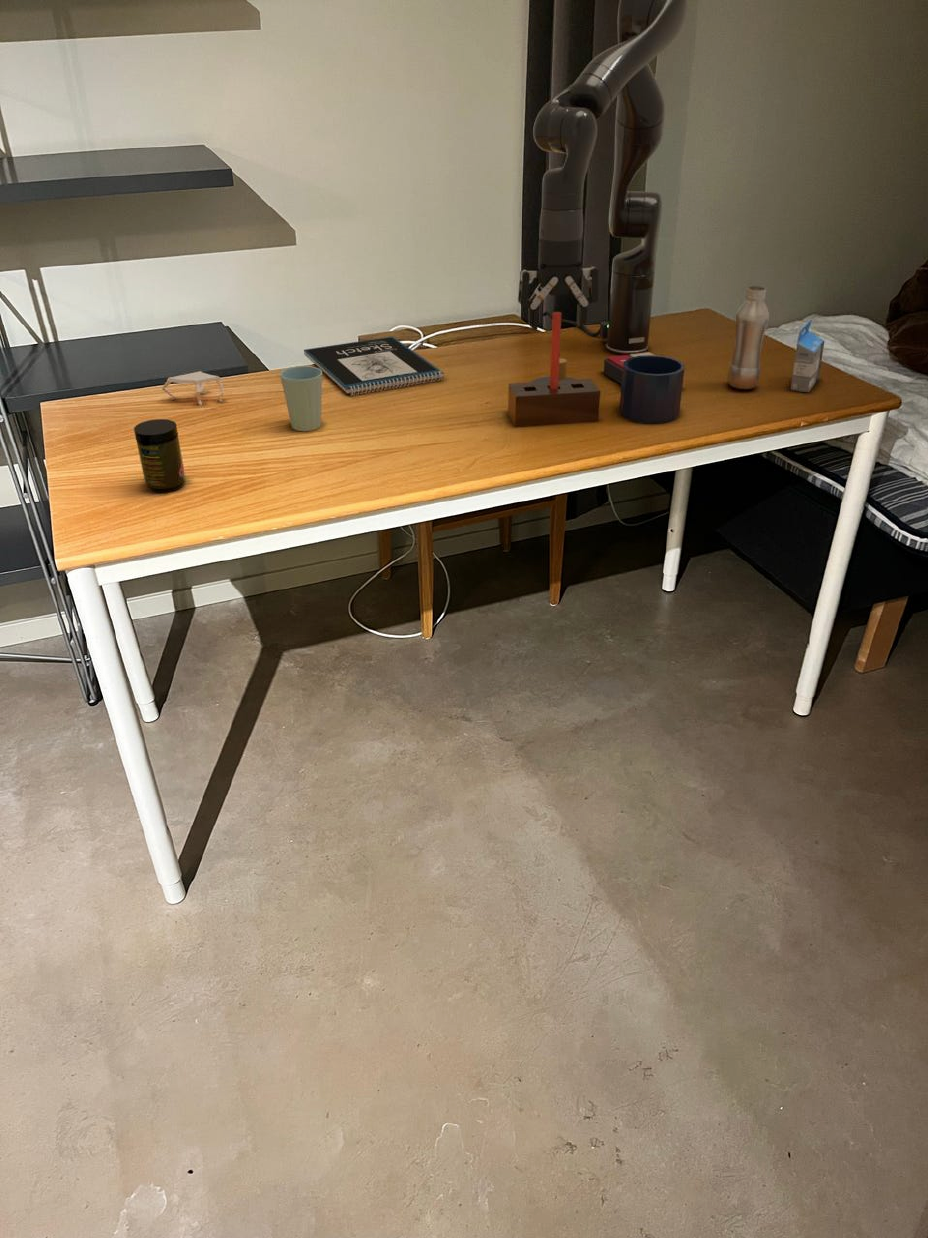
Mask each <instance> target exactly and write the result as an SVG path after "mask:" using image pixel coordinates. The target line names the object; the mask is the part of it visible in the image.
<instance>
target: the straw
mask: <svg viewBox="0 0 928 1238" xmlns="http://www.w3.org/2000/svg"><path fill="white" fill-rule="evenodd" d="M552 315H553V318H552V319H551V320H552V321H551V343H550V344H551V345H550V346H551V347H550V369H549V377H550V390H554V389H558V380H559V358H561V357H560V353H561V336H562V335H561V334H562V323H561V319H562V312H561V311H553V312H552Z"/></svg>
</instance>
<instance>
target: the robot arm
mask: <svg viewBox="0 0 928 1238" xmlns="http://www.w3.org/2000/svg"><path fill="white" fill-rule="evenodd" d="M688 7H689V0H619V3H618V8H617V9H618V10H617V44H616V45H613V46H612V47H609V48H606V49H605V50H604V51H602V52H600V53H599V54H597V55H596V56H595V57H593V59H591V61H589V63H588V64H587V65H586V67H584V69H583V71H581V73H580V74H579V76H578V77H577V78H576V79H575V81H574V82H573V83H572V84H570V85H569V86H568V87H566V88H564V89H563V90H562V91H561V92H559V93H557V94H556V95H555V96H554V97H553V98H551V99H550V100H548V102H546V103H545V104H544V105H543V106H542V107H541V109H540V110H539V112H538V113H537V116H536V117H535V121H534V123H533V129H532V135H533V140H534V142H535V144H536V145H537V148H539V149H540V150H542V151H544V152H547V153H556V154H565V155H566V157H565V161H564V163H563V166H562V167H561V166H560V167H555V168H550V169H548V170H547V171H545V173H543V176H542V183H541V211H540V216H539V233H538V261H537V262H538V263H537V267H536V270H526V268H522V269H521V270H520V271H519V282H518V283H519V284H518V297H517V300H518V303H519V305H520V306H521V307H523V308H527V323H528V326H529V327H530V328H531V329H532V330H533V331H537V330H538V325H539V323H538V322H539V309H538V307H539V305H540V304H541V302H542V301H544V300H545V299H546V297H547V296H548V295H550V296H558V295H564V296H567V295H569V294H570V293H572V294H573V296H574V297H575V299H576V300H577V301H578V303H577V306H576V321H573V320H568V319H565V318H561V324H566V325H571V326H575V327H578V328H580V329H582V330H583V331H584V332H585V333H586V334H587V335H589V336H591V337H598V336H599V337H600V338H601V339H602V340H606V343H605V349H606V350H607V351H608V352H611V353H614V354H617V355H628V356H630V354H638V353H647V351H648V350H649V339H650V338H649V336H650V328H651V327H650V326H651V317H652V308H653V307H652V306H653V296H654V295H653V293H654V286H655V285H654V284H655V283H654V282H655V272H656V260H657V248H658V240H659V234H660V227H661V220H662V213H663V200H662V196H661V194H660V193H659V192H657V191H643V190H642V191H641V190H640V191H639V190H637V191H636V190H631V191H630V190H629V188H630V186H631V185H632V182H633V181H634V178H635V177H636V175H637V174H638V173H639V171H640V170H641V169H642V168H643V167H644V166H645V164H647V162H648V161H649V159H650V158H652V156H653V155H654V154H655V152H656V151H657V149H658V147H659V146H660V144H661V142H662V139H663V134H664V124H665V115H666V103H665V99H664V96H663V93H662V90H661V88H660V85H659V83H658V81H657V79H656V77H655V74H654V73H653V70H652V68H651V65H650V63H651V62H652V61H653V60H654V59H655V58H656V57H658V55H659V54H661V53H662V52H663V51H664V50H665V49H666V48H667V47H668V46H670V44H672V43H673V42H674V40H675V38H676V37H677V36H678V35H679V33H680V31H681V29H682V28H683V25H684V22H685V20H686V17H687V13H688ZM616 99H617V100H616ZM615 100H616V109H615V124H614V126H615V127H614V160H613V161H614V163H613V174H612V175H613V176H612V182H611V183H612V184H611V193H610V201H609V209H608V228H609V232H610V234H611V236H612V237H614V238H617V239H618V238H619V239H638V240H641V239H642V241H641V243H639V245H637V246H635V247H634V248H631V249H629V250H626V251H623V252H621V253H618V254H616V255H615V256H614V257H613V259H612V264H611V265H612V266H611V279H610V294H609V295H610V296H609V310H608V320H607V321H600V325H599V329H598V330H597V331H596V332H591V331H590V330H589V328H587V326H586V325H585V324H586V323H587V319H588V318H587V317H588V306H589V305H592V304H593V303H597V302H598V301H599V270H598V268H597V267H595V266H594V265H589V267H584V268H582V253H583V235H584V214H583V213H584V212H583V207H584V188H585V187H584V186H585V180H586V175H587V172H588V169H589V165H590V161H591V158H592V155H593V152H594V148H595V146H596V142H597V138H598V122H597V120H598V119H600V118H601V117H603V115H604V114H605V113H606V112H607V111H608V109H609V108H610V106H612V104H613V103H614V101H615ZM583 276H584V279H585V280H587V295H584V293H583V292H582V291H581V289H580V288H579V286H578V283H579V282H580V281H581V280H582V278H583ZM535 278H536V280H537V282H538V283H539V284H538V285H537V287H536V288H535V289H534V291H533V293H532V295H531V297H530V298H529V290H530V284H532V283H533V281H534V279H535ZM541 316H542V317H546V316H548V317H549V318H550V319H551V320H552V318H553V313H552V312H551V311H549V310H546V311H544V312H542V315H541Z"/></svg>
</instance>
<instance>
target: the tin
mask: <svg viewBox="0 0 928 1238" xmlns="http://www.w3.org/2000/svg"><path fill="white" fill-rule="evenodd" d="M685 368H686V365H685V363H683V362H682V361H681V360H679V359H676V358H674V357H670V356H666V355H657V354H654V355H643V356H636V357H631V358H629V359H627V360H625V361H624V364H623V372H622V385H621V384H620V386H621V387H620V399H619V408H618V409H619V414H620V415H621V416H622V417H623V418H625V419H626V420H629V421H631V422H636V423H640V424H648V425H658V424H666V423H671V422H673V421H675V420H676V419H678V418H679V417H680V411H681V401H682V393H683V385H684V377H685V376H684V375H685Z"/></svg>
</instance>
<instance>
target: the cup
mask: <svg viewBox="0 0 928 1238" xmlns="http://www.w3.org/2000/svg"><path fill="white" fill-rule="evenodd" d="M279 377H280V380H281V385H282V389H283V393H284V398H285V399H284V400H285V402H286V407H287V412H288V417H289V420H290V426H291V427H292V429H293V430H295V431H299V432H312V431H315V430H317V429H319V428H320V427H321V426H322V396H323V395H322V394H323V392H322V390H323V371H322V370H321V369H320V368H318V367H317V366H316V367H315V366H311V365H299V366H298V365H297V366H292V367H288V368H285V369H283V370H282V371H281V372H280V373H279Z"/></svg>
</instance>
